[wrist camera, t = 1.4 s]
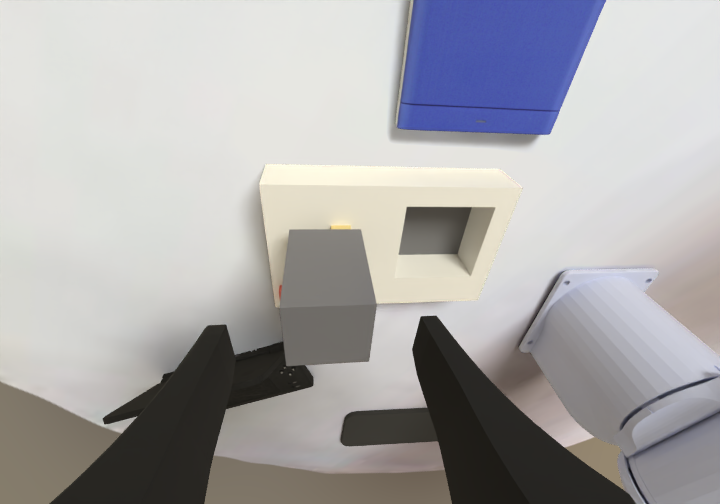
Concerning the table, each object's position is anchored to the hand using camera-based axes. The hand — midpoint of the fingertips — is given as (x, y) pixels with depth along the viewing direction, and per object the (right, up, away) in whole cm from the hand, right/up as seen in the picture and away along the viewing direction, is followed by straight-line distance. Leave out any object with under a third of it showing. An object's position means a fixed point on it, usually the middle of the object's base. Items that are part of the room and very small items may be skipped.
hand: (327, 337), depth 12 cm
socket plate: (+3, +5, +8) cm, 9 cm away
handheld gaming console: (-9, -6, +15) cm, 18 cm away
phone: (+7, -16, +24) cm, 30 cm away
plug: (-1, +4, +5) cm, 6 cm away
